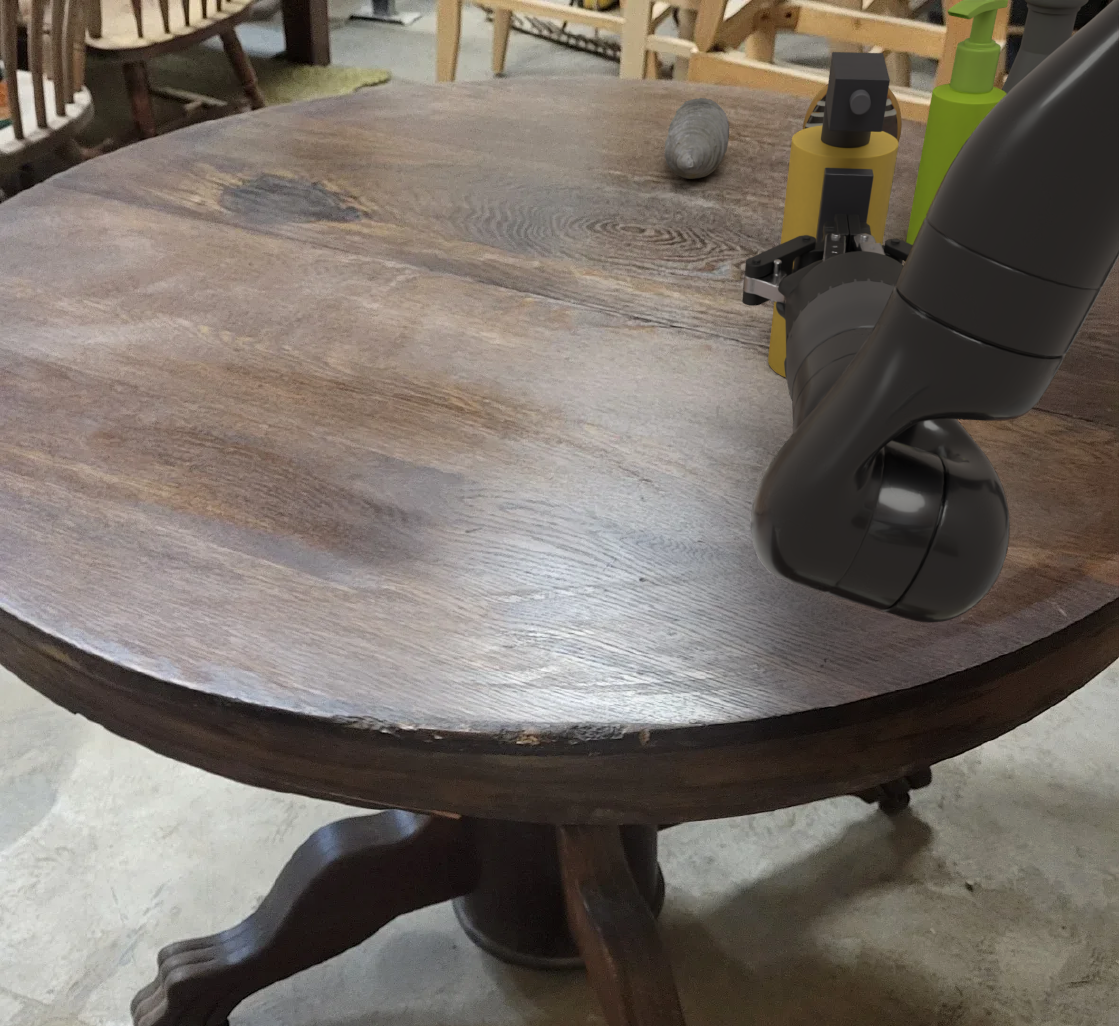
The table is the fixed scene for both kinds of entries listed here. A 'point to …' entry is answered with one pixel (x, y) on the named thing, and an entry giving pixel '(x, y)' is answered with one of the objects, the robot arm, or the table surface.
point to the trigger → (844, 195)
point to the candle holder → (1042, 35)
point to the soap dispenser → (958, 103)
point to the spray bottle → (839, 158)
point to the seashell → (697, 138)
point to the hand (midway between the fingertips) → (843, 229)
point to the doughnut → (891, 116)
